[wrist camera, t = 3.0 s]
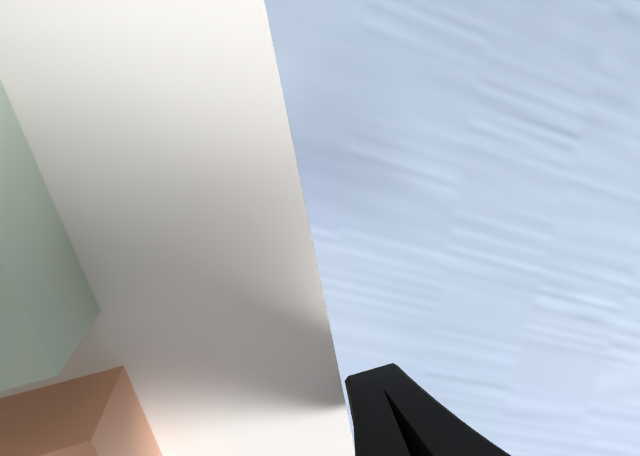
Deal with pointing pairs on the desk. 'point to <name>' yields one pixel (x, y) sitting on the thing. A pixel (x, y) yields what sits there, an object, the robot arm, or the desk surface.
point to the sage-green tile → (35, 269)
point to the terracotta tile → (77, 419)
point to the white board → (182, 217)
